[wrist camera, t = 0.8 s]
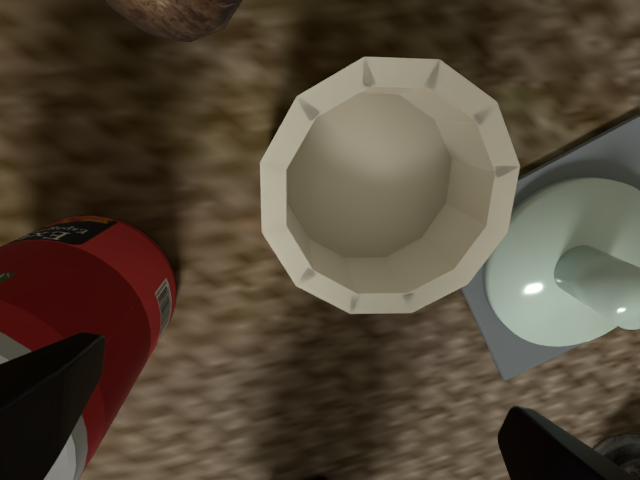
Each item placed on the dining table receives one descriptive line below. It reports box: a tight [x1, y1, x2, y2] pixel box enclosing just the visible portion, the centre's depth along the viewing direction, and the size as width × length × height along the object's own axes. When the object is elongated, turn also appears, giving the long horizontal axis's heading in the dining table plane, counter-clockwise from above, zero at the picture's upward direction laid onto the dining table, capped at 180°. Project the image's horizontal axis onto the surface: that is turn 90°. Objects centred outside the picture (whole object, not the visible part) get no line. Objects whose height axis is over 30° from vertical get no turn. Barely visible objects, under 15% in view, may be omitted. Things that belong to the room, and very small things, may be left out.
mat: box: [461, 115, 640, 381], centre depth 22 cm, size 12×12×1 cm
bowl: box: [260, 57, 520, 314], centre depth 18 cm, size 10×10×5 cm
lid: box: [482, 176, 640, 347], centre depth 20 cm, size 10×10×5 cm
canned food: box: [0, 216, 176, 480], centre depth 16 cm, size 8×8×11 cm
